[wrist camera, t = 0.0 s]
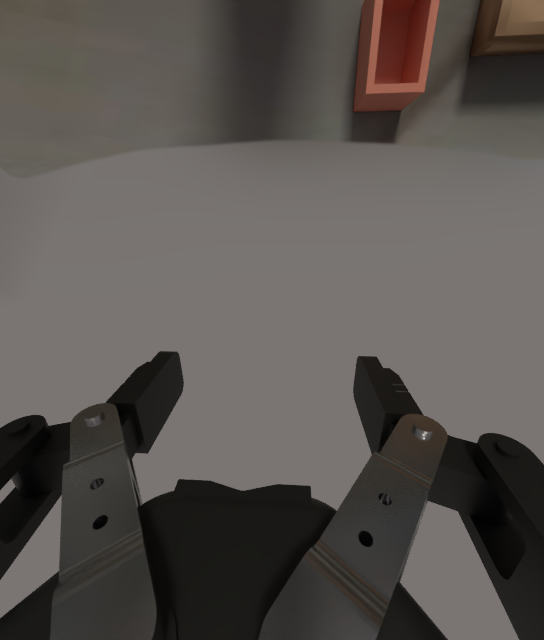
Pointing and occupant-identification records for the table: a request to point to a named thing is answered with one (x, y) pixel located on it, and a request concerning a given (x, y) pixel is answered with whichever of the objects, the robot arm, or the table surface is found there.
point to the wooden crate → (509, 28)
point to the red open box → (393, 53)
